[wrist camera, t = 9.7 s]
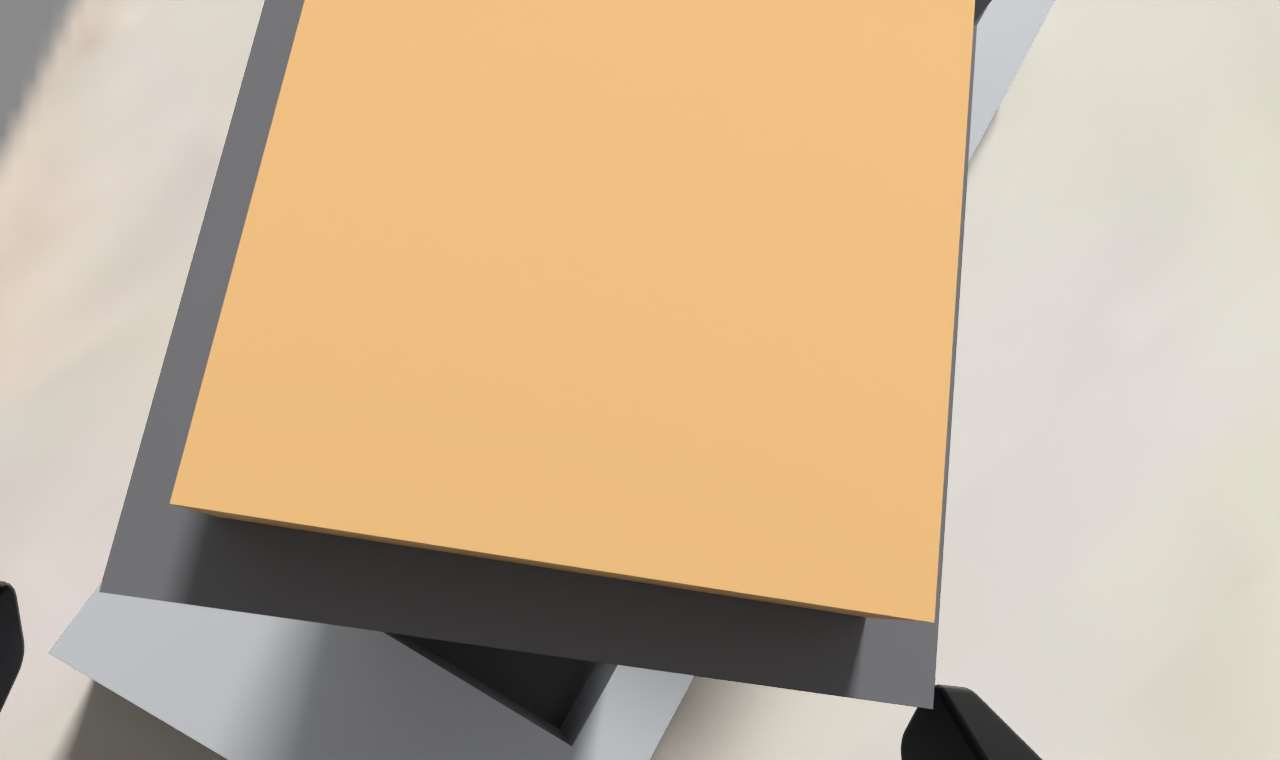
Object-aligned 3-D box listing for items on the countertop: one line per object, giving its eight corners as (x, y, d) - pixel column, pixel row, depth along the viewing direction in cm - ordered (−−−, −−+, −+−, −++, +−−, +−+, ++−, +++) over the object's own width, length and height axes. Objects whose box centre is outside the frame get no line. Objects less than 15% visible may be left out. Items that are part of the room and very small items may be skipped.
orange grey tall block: (600, 622, 18) (1012, 729, 5) (361, 587, 17) (28, 593, 4) (634, 396, 19) (1047, -50, 6) (411, 355, 18) (283, -264, 5)
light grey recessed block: (535, 898, 17) (547, 949, 15) (107, 643, 17) (48, 652, 14) (1005, 39, 23) (1068, -24, 21) (701, -163, 23) (730, -252, 20)
